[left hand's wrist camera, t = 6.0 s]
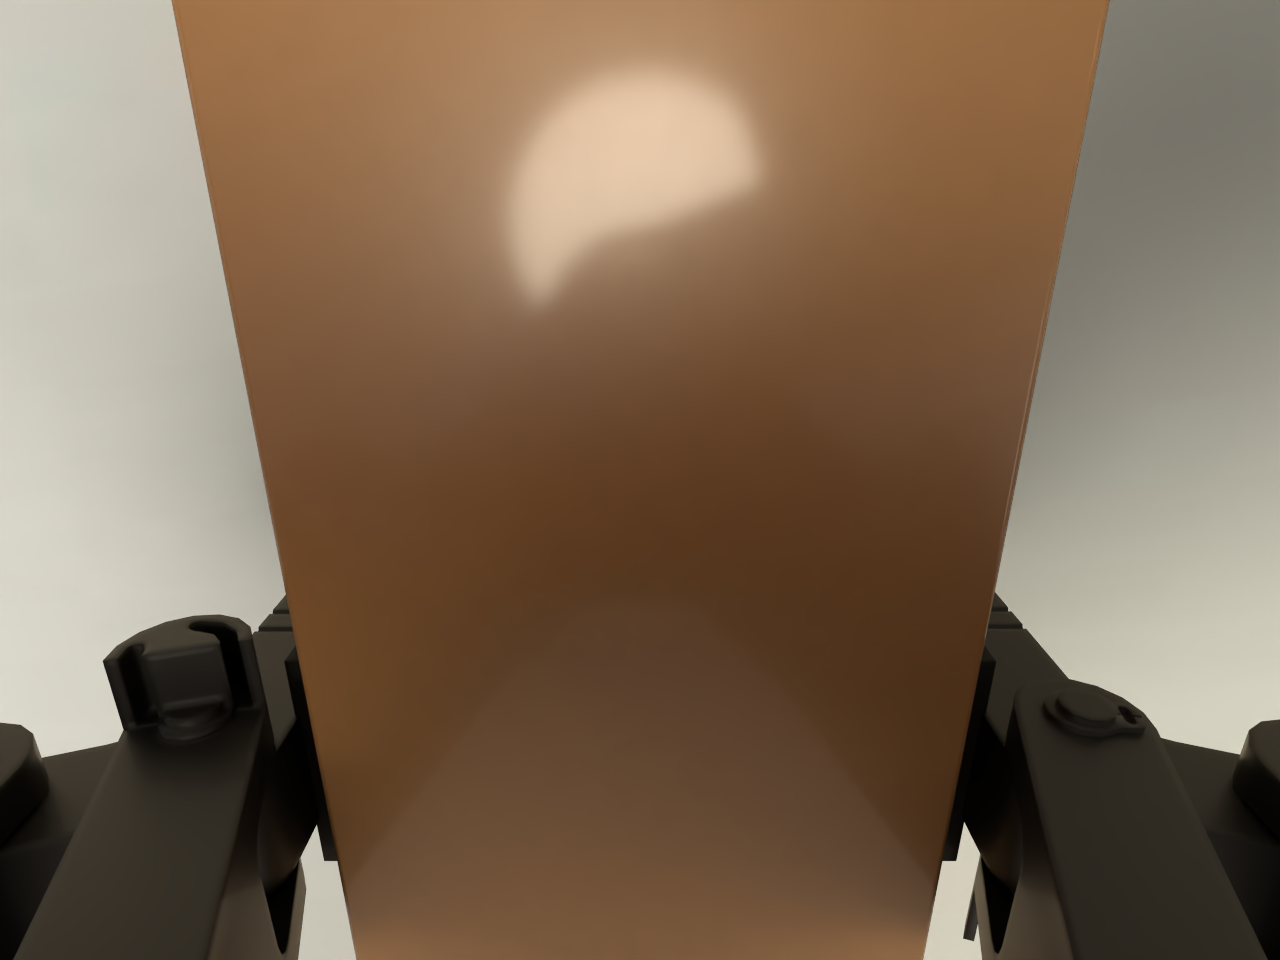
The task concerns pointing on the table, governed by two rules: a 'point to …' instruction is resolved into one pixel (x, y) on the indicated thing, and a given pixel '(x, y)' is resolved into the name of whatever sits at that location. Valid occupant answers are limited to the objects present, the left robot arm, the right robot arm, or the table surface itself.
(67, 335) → the table surface
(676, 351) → the wooden beam
